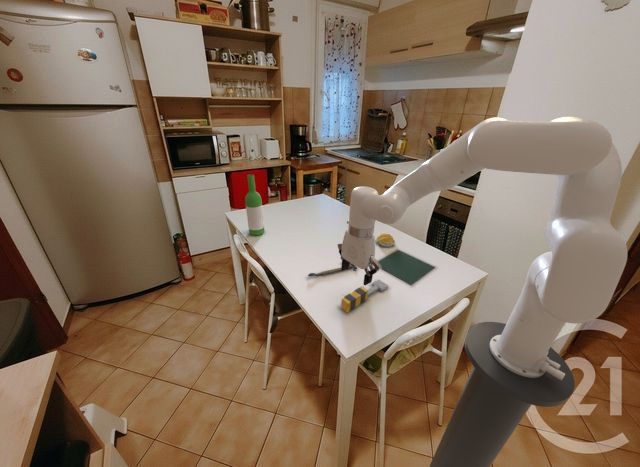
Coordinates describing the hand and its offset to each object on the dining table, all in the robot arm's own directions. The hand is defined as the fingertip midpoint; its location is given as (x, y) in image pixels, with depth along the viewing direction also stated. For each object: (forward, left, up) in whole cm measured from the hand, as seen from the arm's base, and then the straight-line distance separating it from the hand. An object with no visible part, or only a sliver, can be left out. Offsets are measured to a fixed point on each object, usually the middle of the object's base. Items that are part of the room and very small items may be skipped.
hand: (355, 276), depth 85 cm
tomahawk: (+18, -7, -12) cm, 23 cm away
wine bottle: (+67, 0, -12) cm, 68 cm away
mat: (+1, -33, -11) cm, 35 cm away
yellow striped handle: (-1, -5, -11) cm, 13 cm away
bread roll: (+18, -43, -12) cm, 48 cm away
